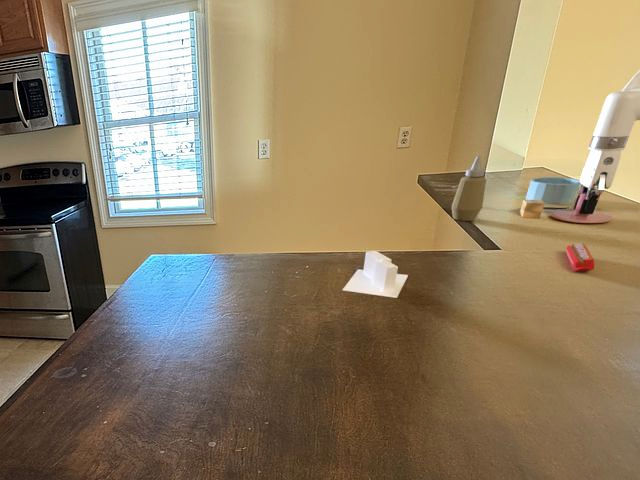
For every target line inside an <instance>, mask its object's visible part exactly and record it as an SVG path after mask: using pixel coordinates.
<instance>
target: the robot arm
mask: <svg viewBox="0 0 640 480" xmlns="http://www.w3.org/2000/svg"><path fill="white" fill-rule="evenodd" d="M636 121H640V69H639V70H638V71H637V72H636V73H635V74H634V75H633V76H632V77H631V78H630V80H629V81H628V82H627V83H626V85H625V86H624V87H623V88H622V90H621V91H613V92H611V93H609V94H608V95H607V96H606V98H605V100H604V103H603V105H602V107H601V112H600V113H599V117H598V120H597V123H596V126H595V127H594V130H593V134H592V137H591V140H590V142H589V144H588V145H589V146H588V148H587V150H590V152H589V154H588V156H587V159H586V161H585V164H584V166H583V168H582V171H581V174H580V177H579V180H580V183H581V185H580V188H579V191H578V194H577V196H576V199H575V201H574V205H573V209H574V210H575V208H576V206H577V203H578V200H579V197H580V195H581V193H583V192H587V195H586V199H584V200H583V202H582V205H581V208H580V211H579V214H593V213H594V211H596V208H597V204H598V202H599V200H600V198H601V195H602V193H603V192H604V191H605V189H606V190H608V189H610V188H612V184H613V182H614V179H615V176H616V173H617V170H618V166H619V164H620V160H621V156H622V151H624V150H625V148H626V146H627V143H628V140H629V138H630V135H631V133H632V130H633V128H634V125H635V123H636Z"/></svg>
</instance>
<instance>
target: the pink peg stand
mask: <svg viewBox="0 0 640 480" xmlns="http://www.w3.org/2000/svg"><path fill="white" fill-rule="evenodd" d="M586 195H587V192H583V193H581V195H580V197H579V200H578V203H577V206H576V208H575V210H574V209H572V208H568V209H556V210H553V211H552V212H551V214H550V215H551V217H552V218H554V219H557V220H560V221H564V222H568V223H569V222H570V223H574V224H600V223H601V224H602V223H607V222H610V221H612V219H613V216H612V215H611V214H609V213H605V212H602V211H597V210H594V213H593V214H579V211H580V208H581V205H582V202H583V200H584V199H586Z"/></svg>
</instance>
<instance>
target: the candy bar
mask: <svg viewBox="0 0 640 480" xmlns="http://www.w3.org/2000/svg"><path fill="white" fill-rule="evenodd" d="M565 255H566V256H567V257H566V258H567V259H568V261H569V263H570V266H571V268H572V270H573V271H574V272H578V273H579V272H585V271H594V270H595V260H594V257H593V256H592V254H591V252H590V251H589V249H588V248H587V246H586V245H585V243H574V244H573V243H572V244H569V245H567V246H566V249H565Z"/></svg>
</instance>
